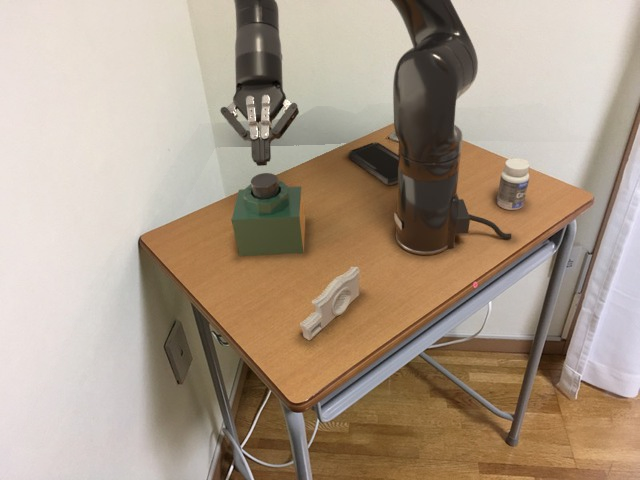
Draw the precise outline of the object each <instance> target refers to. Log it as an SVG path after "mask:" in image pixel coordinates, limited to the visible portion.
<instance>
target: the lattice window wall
mask: <svg viewBox="0 0 640 480" xmlns="http://www.w3.org/2000/svg"><path fill="white" fill-rule="evenodd" d="M360 274H361V270H360V269H359V267H358V266H350V268H349V269H348V270H346V272H344V273H343V274H341V275H338V276H337V277H335V278H334V279H332V281H330V283H329V284H328V285H327V287H324V288H325V289H323V290H322V291H321V293H320V294H319V295H318V296H316V297H315V298H314V299H313V300H311V304H312V305H313V306H314V309H315V311H314V312H313V311H312V312H311V313H310V314H309V315H308V317H306V318H305V319H303V321H301V322H299V325H300V327H301V329H302V330H301V331H302V335H303V338H304V339H306V340H308V341H311V340H313V338H314V337H316V335H318V334H319V333H320V332H321V331H322V330H323V329H324V328H326V326H328V324H330V323H331V322H332V321H333V320H334V319H336V317H338V316H341V315H342V314H343V313H344V312H345V311H346V310H347V309H348V307H349V305H350V304H351V303H352V302H353V301H355V300H356V299H357V298H358V297H359V296H360Z"/></svg>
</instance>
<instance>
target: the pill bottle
mask: <svg viewBox="0 0 640 480" xmlns="http://www.w3.org/2000/svg"><path fill="white" fill-rule="evenodd" d="M530 166H531V165H530V162H529V161H528V160H526V159H523V158H520V157H519V158H518V157H514V158H513V157H512V158H509V159H507V160H505V163H504V169H503V170H502V172H501V174H500V179H499V185H498V191H497V197H496V204H497V206H499V208H502V209H504V210H507V211H517V210H520V209H521V208H523V207H524V204H525V200H526V196H527V192H528V185H529V181H530V173H529V172H530Z"/></svg>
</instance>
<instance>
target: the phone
mask: <svg viewBox="0 0 640 480" xmlns="http://www.w3.org/2000/svg"><path fill="white" fill-rule="evenodd" d="M348 158H349V159H350V160H351V161H352V162H354V163H355V164H357V165H358V166H360V167H361V168H363V169H364V170H365V171H367V172H368V173H369V174H371V175H372V176H374V177H375V178H376V179H377V180H378V181H380V182H382V183H383V184H384V185H387V186H394V185H396V184H398V160H399V154H397V153H395V152H394V151H393V150H391V149H389V148H387V147H386V146H384V145H383V144H381V143H380V142H371V143H367V144H365V145H362V146H359V147H357V148H354V149H351V150H350V151H349V152H348Z"/></svg>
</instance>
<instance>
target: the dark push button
mask: <svg viewBox="0 0 640 480" xmlns="http://www.w3.org/2000/svg"><path fill="white" fill-rule="evenodd" d="M278 180H279V178H278V176H277V175H276V174H274V173H271V172H262V173H258V174H256V175H254V176H253V177H251V180H250V184H251V186H252V192H253V196H254V197H255V198H257V199H260V200H262V199H270V198H273V197H276V196H277V195H278V194H279V184H278Z"/></svg>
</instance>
